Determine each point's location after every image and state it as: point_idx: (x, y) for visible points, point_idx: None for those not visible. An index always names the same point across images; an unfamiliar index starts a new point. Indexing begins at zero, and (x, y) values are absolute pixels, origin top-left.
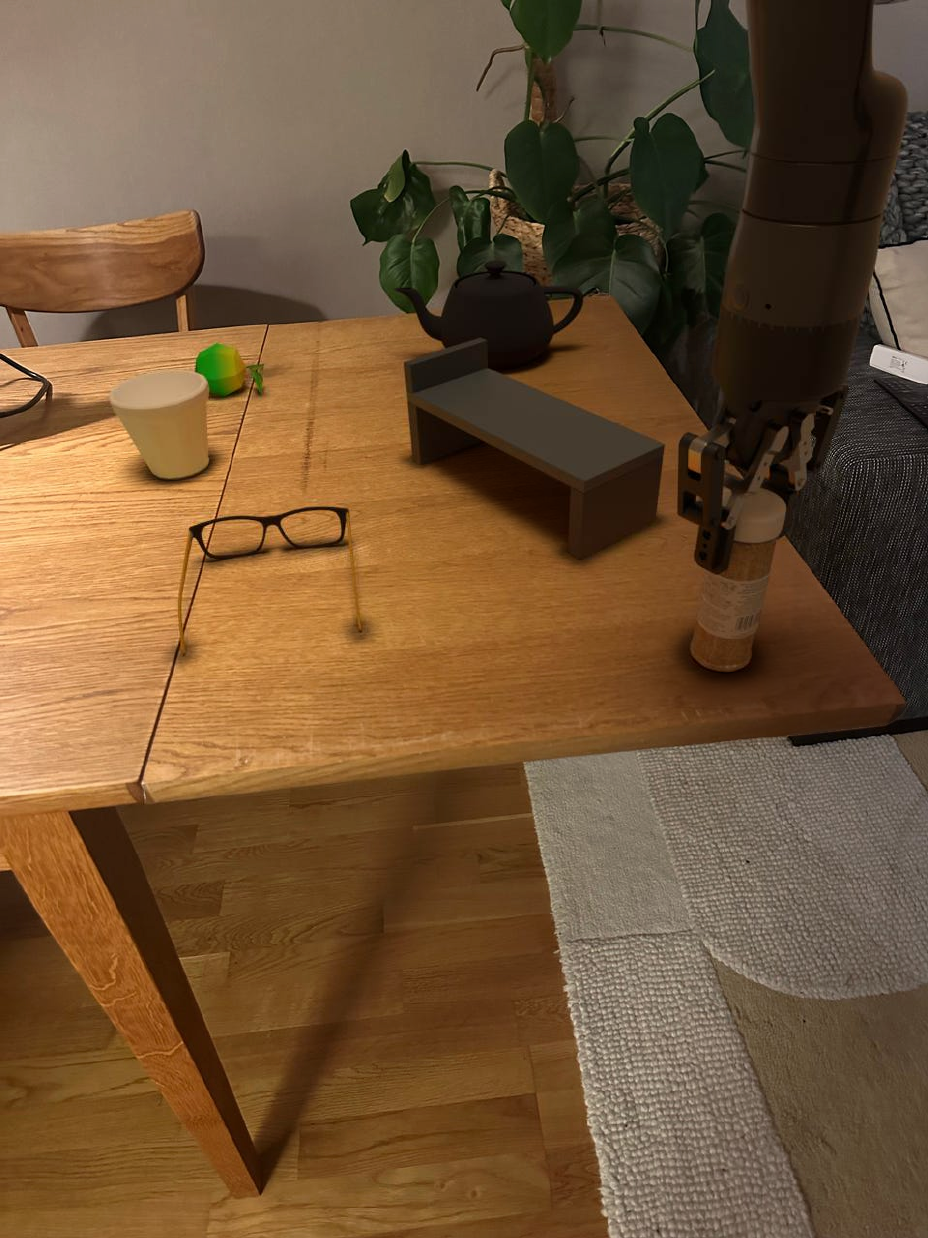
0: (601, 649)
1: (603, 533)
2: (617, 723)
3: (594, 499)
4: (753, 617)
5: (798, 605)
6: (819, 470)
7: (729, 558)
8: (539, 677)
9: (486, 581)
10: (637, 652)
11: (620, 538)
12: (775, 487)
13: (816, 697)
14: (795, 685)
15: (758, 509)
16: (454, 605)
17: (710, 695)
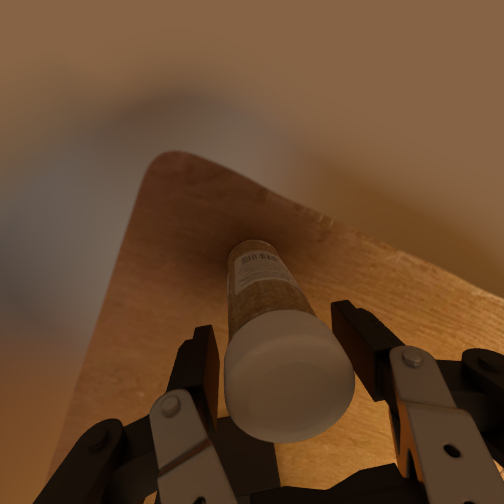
0: (329, 314)
1: (241, 429)
2: (379, 241)
3: (261, 474)
4: (260, 257)
5: (137, 281)
6: (97, 424)
7: (343, 311)
8: (388, 310)
9: (345, 415)
10: (308, 298)
11: (218, 419)
12: (205, 414)
13: (220, 177)
14: (224, 199)
15: (304, 371)
16: (382, 401)
17: (297, 228)
